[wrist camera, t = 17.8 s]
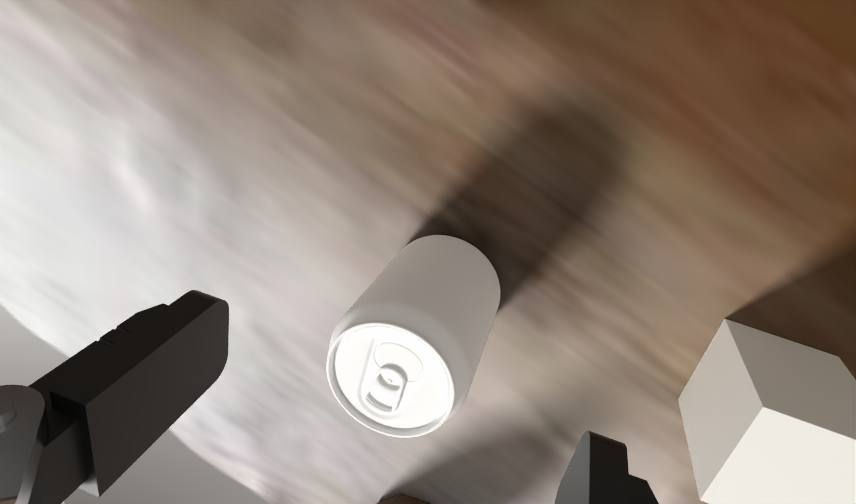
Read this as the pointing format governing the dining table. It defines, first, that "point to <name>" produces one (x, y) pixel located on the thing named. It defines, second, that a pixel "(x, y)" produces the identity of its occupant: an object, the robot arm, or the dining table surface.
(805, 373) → the white matte cube
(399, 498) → the beer bottle
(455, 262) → the beverage can
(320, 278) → the dining table surface
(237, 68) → the dining table surface
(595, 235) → the dining table surface
